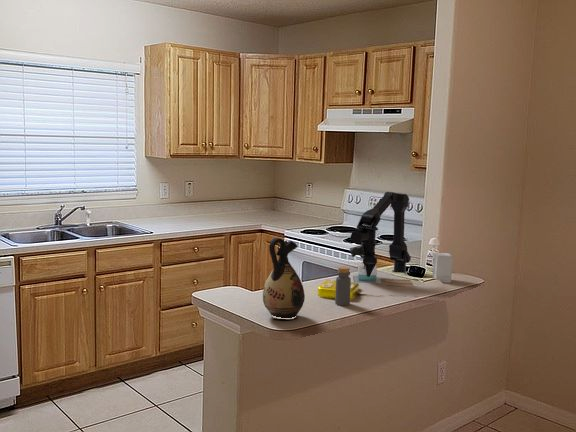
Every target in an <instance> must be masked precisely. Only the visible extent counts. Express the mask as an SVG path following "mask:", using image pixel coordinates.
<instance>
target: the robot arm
mask: <svg viewBox="0 0 576 432" xmlns="http://www.w3.org/2000/svg"><path fill="white" fill-rule="evenodd" d="M409 202H410V198H409V196H408V194H407V193H401V192H393V191H386V192H384V193H383V196H382V197H381V198H380V200H378V202H376V204H375V205H374V206H373V207H372V208H370V209H368V210H366V211H364V212H363V213H362V214H361V217H360V218H359V221H358V223H357V224H356V227H354V231H352V232H351V234H350V240H351V242H353V244H360V243H361V245H355V246H353V247H350V248H349V253H350V255H351V257H352V258H353V257H356V256H359V257H360V258H361V259H362V264H363V266H366V273H367V277H370V275H371V273H372V271H373V269H374V267H376V265H377V263H378V258H377V257H376V251H375V250H376V247H377V245H376V237H377V236H376V234H377V231H379V228H378V227H377V226H378V224H379V223H380V221H381V216H382V215H383V213H384V212H386V210H387V209H388V208H389V207H391V208H392V210H393V241H392V242H391V244H389V246H388V249H389V250H388V253H389V254H388V255H389V258H390V259H389V260H390V261H393V262H394V263H393V269H392V270H391V271H392V273H400V274H401V273H402V274H404V273H405V274H407V271H406V270H407V269H406V267H407V263H411V259H412V258H411V255H410V254H409V252H408V246H407V244H406V242H405V214H406V213H405V212H406V210H407V209H408V206H409Z"/></svg>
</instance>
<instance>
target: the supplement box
mask: <svg viewBox="0 0 576 432" xmlns="http://www.w3.org/2000/svg"><path fill="white" fill-rule="evenodd" d="M453 258H454V257H453V255H451V254H450V253H449V252H448V253H446V252H445V253H443V252H440V253H439V252H435V253H433V260H432V261H433V263H432V277H433V278H434V279H435V280H439V281H440V282H441V283H447V284H448V283H451V282H452V274H453Z"/></svg>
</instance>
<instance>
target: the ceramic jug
mask: <svg viewBox="0 0 576 432" xmlns="http://www.w3.org/2000/svg"><path fill="white" fill-rule="evenodd" d="M278 244H279V247H278V249H277V252H276V245H278ZM268 247H269V248H268V249H269V254H270V258H271V263H272V264H273V267H272V268H273V269H272V270H271V272H270V274H269V275H268V277H267V279H266V281H265V283H264V286H263V291H262V302H263V305H264V308H265V309H267V311H268V312H269V314H270V315H273V316H276V317H281V318H292V317H295V316H296V317H297V315H298V314H299V312H300V311H301V310H302V309H303V308H302V307H304V306H303V305H304V303H305V296H306V295H305V290H304V286H303V283H302V280H301V278H300V276H299V275H298V274H297V272H296V270H295V269H294V267H293V266H292V264H291V263H290V262H289V257H288V255H289V254H290V253H291V252H293V251H294V250H295V249H297V248H298V245H297V244H296V242H294V241H293V240H289V241H288V240H284V239H283V238H281V237H274V238H272V239H271V240H270V242H269V246H268ZM277 256H278V257H277Z"/></svg>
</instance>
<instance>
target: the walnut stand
mask: <svg viewBox="0 0 576 432" xmlns="http://www.w3.org/2000/svg"><path fill="white" fill-rule="evenodd" d="M383 280H384V282H385V285H386V286H387V287H406V288H408V287H409V288H410V287H411V288H415V285H414V284H413V282H412V280H410V279H397V278H396V279H394V278H393V279H391V278H384V279H383Z"/></svg>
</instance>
